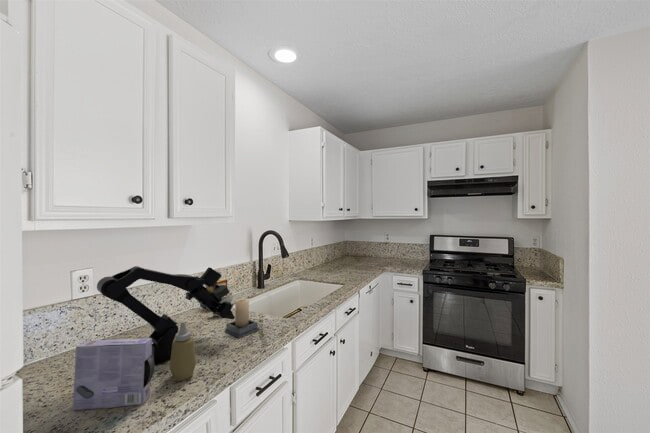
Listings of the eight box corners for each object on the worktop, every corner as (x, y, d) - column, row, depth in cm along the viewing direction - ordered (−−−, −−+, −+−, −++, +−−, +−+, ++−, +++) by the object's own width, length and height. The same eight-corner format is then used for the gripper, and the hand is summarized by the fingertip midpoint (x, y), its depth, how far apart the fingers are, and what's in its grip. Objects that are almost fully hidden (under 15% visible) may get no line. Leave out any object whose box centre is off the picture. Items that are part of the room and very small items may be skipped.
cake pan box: (155, 393, 84) (155, 335, 84) (147, 405, 79) (147, 343, 79) (84, 400, 81) (83, 339, 81) (71, 412, 76) (71, 348, 76)
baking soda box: (214, 311, 155) (214, 282, 155) (206, 309, 158) (206, 281, 158) (227, 306, 163) (227, 278, 163) (219, 304, 166) (219, 277, 166)
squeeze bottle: (178, 386, 88) (178, 329, 88) (164, 378, 92) (164, 324, 92) (201, 373, 95) (201, 321, 95) (187, 366, 99) (187, 316, 99)
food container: (217, 320, 142) (217, 300, 142) (210, 317, 146) (210, 298, 146) (237, 313, 152) (237, 295, 152) (231, 310, 156) (231, 292, 156)
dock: (239, 338, 122) (239, 330, 122) (224, 331, 129) (224, 323, 129) (259, 329, 131) (259, 322, 130) (244, 324, 137) (244, 317, 137)
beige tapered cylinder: (244, 331, 126) (244, 303, 126) (232, 330, 127) (232, 301, 127) (251, 326, 132) (251, 299, 132) (239, 325, 133) (239, 298, 133)
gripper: (228, 284, 114) (251, 304, 122) (207, 277, 126) (229, 296, 135) (210, 308, 108) (235, 327, 117) (189, 298, 120) (213, 316, 129)
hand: (228, 315), depth 124 cm, fingers open, 9 cm apart
